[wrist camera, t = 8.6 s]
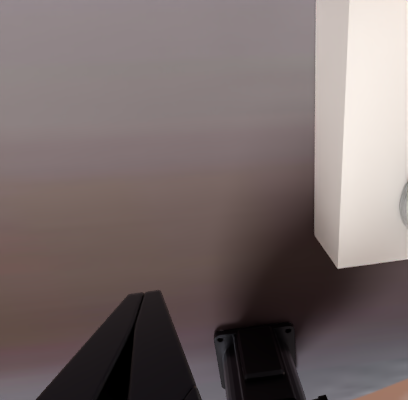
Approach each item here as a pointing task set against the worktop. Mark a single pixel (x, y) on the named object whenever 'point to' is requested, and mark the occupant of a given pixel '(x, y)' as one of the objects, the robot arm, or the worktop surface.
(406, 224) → the plug
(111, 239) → the worktop surface
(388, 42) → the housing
